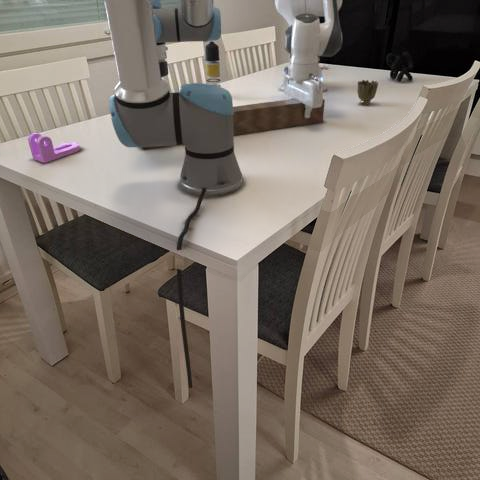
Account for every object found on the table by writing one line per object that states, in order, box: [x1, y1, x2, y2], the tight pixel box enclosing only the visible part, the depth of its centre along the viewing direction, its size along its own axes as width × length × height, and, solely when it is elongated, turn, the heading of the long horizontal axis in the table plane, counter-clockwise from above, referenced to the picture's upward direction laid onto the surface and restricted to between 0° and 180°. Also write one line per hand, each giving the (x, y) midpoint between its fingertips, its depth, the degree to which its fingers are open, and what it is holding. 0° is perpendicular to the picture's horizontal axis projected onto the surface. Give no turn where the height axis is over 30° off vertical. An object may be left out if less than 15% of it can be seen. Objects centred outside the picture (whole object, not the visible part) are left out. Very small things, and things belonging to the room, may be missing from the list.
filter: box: [204, 40, 222, 87], centre depth 175 cm, size 6×6×30 cm
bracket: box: [27, 132, 81, 164], centre depth 127 cm, size 13×6×7 cm, turn 143°
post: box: [141, 98, 326, 150], centre depth 141 cm, size 62×5×8 cm, turn 112°
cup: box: [357, 79, 379, 106], centre depth 166 cm, size 8×7×8 cm
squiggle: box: [385, 51, 414, 83], centre depth 198 cm, size 11×10×15 cm
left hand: (162, 141), depth 135 cm, fingers closed on post, 5 cm apart
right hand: (301, 114), depth 149 cm, fingers closed on post, 5 cm apart
